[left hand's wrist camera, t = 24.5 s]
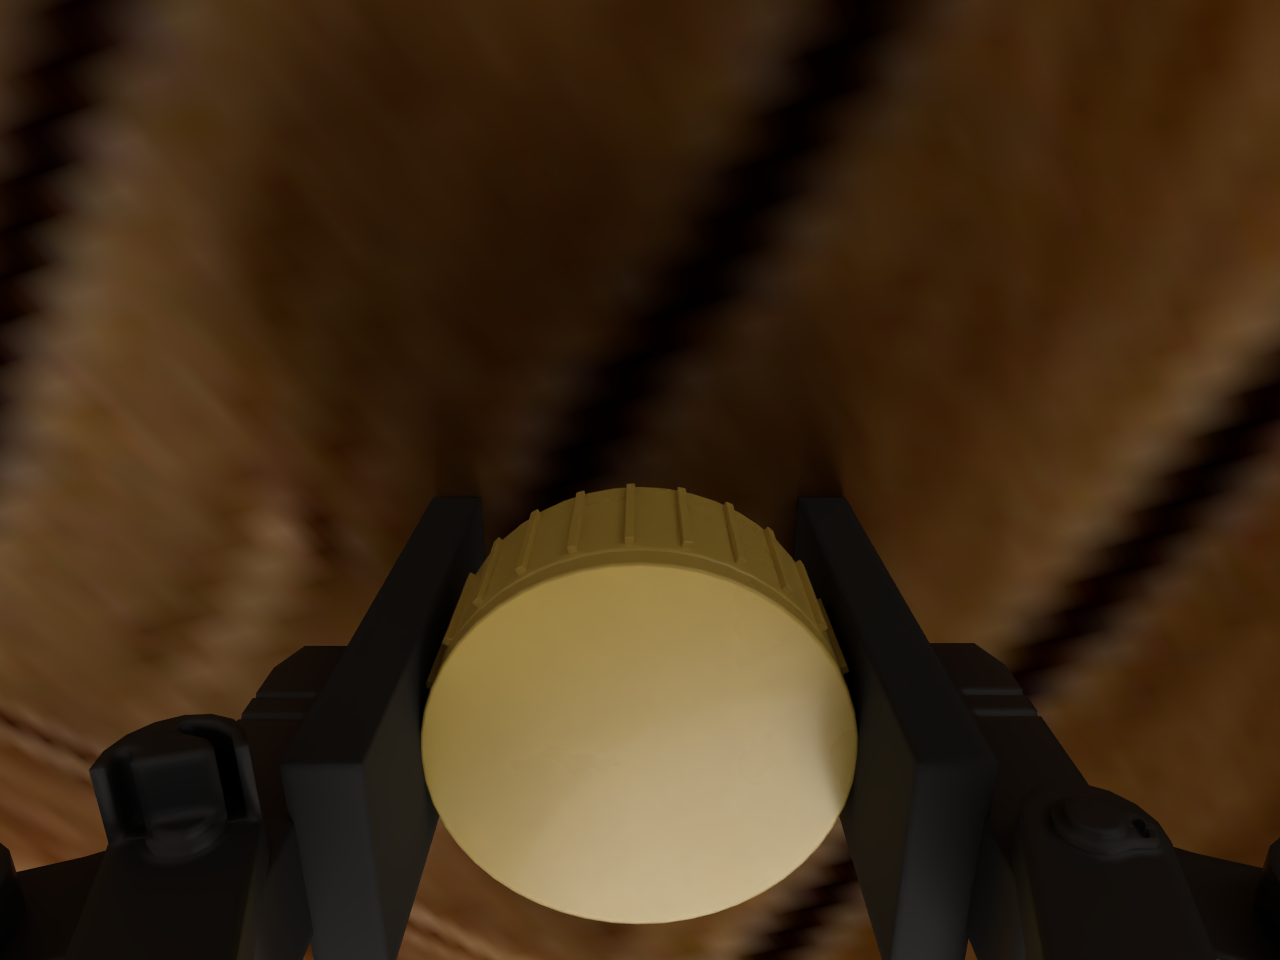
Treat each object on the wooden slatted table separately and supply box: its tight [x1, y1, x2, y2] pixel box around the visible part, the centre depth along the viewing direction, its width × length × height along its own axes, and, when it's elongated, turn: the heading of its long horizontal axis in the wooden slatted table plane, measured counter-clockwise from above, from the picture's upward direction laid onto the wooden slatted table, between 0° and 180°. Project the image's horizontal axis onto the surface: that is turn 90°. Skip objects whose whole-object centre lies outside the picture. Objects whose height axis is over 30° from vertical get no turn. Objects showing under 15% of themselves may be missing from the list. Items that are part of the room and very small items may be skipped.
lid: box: [421, 484, 858, 924], centre depth 12 cm, size 5×5×2 cm
